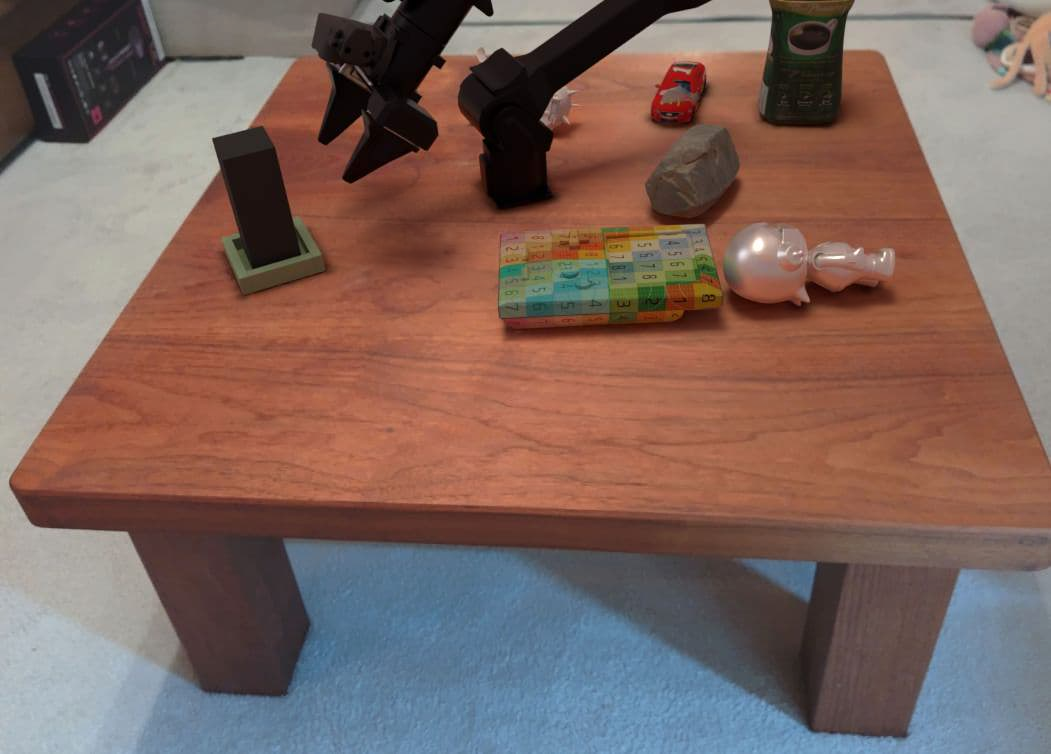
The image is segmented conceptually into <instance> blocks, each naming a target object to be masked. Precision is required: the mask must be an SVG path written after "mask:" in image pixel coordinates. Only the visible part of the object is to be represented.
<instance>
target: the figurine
mask: <svg viewBox="0 0 1051 754" xmlns="http://www.w3.org/2000/svg"><path fill="white" fill-rule="evenodd" d="M775 225H776V226H775ZM775 225H771V224H768V222H766V221H760V222H754V223H751V224H748V225H746V226H744V227H743V228H741V229H740V230H739V231H737V233H735V234H734V236H732V237H731V239H730V240H729V241H728V244H727V245H726V247H725V250H724V253H723V256H722V273H723V278H724V280H725V282H726V284H727V285H728V287H729V288H730V289H731V290H732V291H733V292H734V293H735V294H736V295H738V296H739V297H741V298H743V299H746V300H749V301H752V302H755V303H760V304H761V303H762V304H777V303H783V302H786V301H787V302H788V301H789V302H791V303H792V304H794V305H796V306H798V307H801V305H802V302H803V303H810V302H811V299H810V297H809V294H808V292H807V289H806V282H807V280H808V281H810V282H813V283H815V284H817V285H818V286H820V287H822V288H824V289H826V290H829V291H830V292H831V293H836V292H840V291H843V290H844V289H845V288H846V287H848V286H851V285H852V284H854V285H862V286H867V287H870V288H876V286H878V284H879V282H882V283H885V284H886V283H889V282H890V281H891V280H892V278H893V276H894V270H895V265H896V264H895V263H896V251H895V250H894V248H893V247H882V248H881V247H880V248H879V249H878V250H877V251H876V253H875V252H874V253H867V254H866V253H864V251H865V249H864V247H862V246H858V247H857V248H854V247H853V246H851V245H850V244H848V243H846V242H844V241H832V242H831V241H826V242H822V243H820V244H818V245H816V246H814V247H812V248H811V249H810V250H808V249H809V248H808V244H807V241H806V238H805V236H804V234H803V233H802V232H801V231H800V229H799V228H796V227H795V226H793V225H791V224H788V223H784V222H778V223H775Z"/></svg>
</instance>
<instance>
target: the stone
mask: <svg viewBox="0 0 1051 754" xmlns="http://www.w3.org/2000/svg"><path fill="white" fill-rule="evenodd" d="M740 167H741V161H740V158H739V154H738V152H737V150H736V145H735V144H734V141H733V138H732V136H731V134H730V131H729V129H728V128H727V127H726V126H723V125H718V124H710V123H703V122H701V123H699V124H696V125H694V126H692V127H690V128H689V129H687V130H686V131H685V132H684V133H683V134H682V135H681V136H680V137H679V138H678V139H677V141H676V142H675V143H674V144H673V145H672V146H671V148H670V149H669V150H668V151H667V152H666V154H665V155H664V156H663V158H662V159H661V160H660V161H659V163H658V164H657V166H656V167H655V169H654V170H653V171H652V172H651V174H650V176H649V177H648V178H647V180H646V181H645V183H644V187H645V191H646V195H647V197H648V199H649V202H650V205H651V206H652V208H653V210H655V211H656V212H657V213H658V214H659V213H660V214H663V215H667V216H673V217H679V218H684V219H685V218H686V219H694V218H697V217H698V216H701V215H702V214H704V213H706V212H707V211H708V210H709V209H710V208H711V207H712V206H714V205H715V204H716V203H717V202H718V201H719V200H720V198H722V196H723V195H724V194H725V192H726V191H727V189H728V188H729V187H730V186H731V184H732V183H733V181H735V178H736V176H737V174H738V172H740V171H739V170H740Z"/></svg>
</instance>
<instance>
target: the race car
mask: <svg viewBox="0 0 1051 754" xmlns="http://www.w3.org/2000/svg"><path fill="white" fill-rule="evenodd" d="M654 86H655V88H658V89H657V91H656V92H655V95H654V97H653V100H652V101H651V104H650V118H651V119H653V120H655V121H657V122H660V123H665V124H684V123H692V122H693V121H694V117H695V114H696V112H697V109H698V106H699V104H700V102H701V100H702V98H703V96H704V94H705V91H706V87H707V71H706V66H705V64H704V63H702V62H699V61H689V60H678V61H675V62H672V63H671V65H670V66H669V67H668V69H667V70H666V72H665V75H664V77H663V79H662V81H661V83H660V84H658V83H656V84H655V85H654Z"/></svg>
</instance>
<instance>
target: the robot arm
mask: <svg viewBox="0 0 1051 754" xmlns="http://www.w3.org/2000/svg"><path fill="white" fill-rule="evenodd" d="M395 1H396V0H382V2H384V3H387V4H389V3H393V2H395ZM398 1H399V2H400V3H399V4H398V6H397V7H396V9H395V10H394V12H393V14H392V15H391V16H389V15H388V14H386V13H383V14H382V15H381V14H380V15H379V16H378V17H376V20H375V21H374V23H373V24H369V23H366V22H362V21H360V20H356V19H352V18H347V17H343V16H338V15H333V14H330V13H325V12H318V14H317V18H316V22H315V27H314V31H313V36H312V41H311V45H310V47H311V48H312V50H313V49H314V50H315V51H316V52H317V56H318V58H319V59H321V60H322V61H324V62H325V67H326V69H327V72H328V76H329V80H330V83H331V89H330V93H329V98H328V101H327V104H326V108H325V112H324V114H323V117H322V121H321V125H320V127H319V131H318V135H317V139H316V140H317V141H318V143H320V144H321V145H323V146H328V145H329V144H330V143H332V142H333V141H334V140H335V139H337V138H338V137H339V136H340V135H342V134H343V133H344V132H345V131H346V130H347V129H349V128H350V126H352V125H353V124H354V123H355V122H356V121H358V120H359V119H360V118H361V117H362V122H363V128H364V129H363V132H362V134H361V136H360V138H359V141H358V142H357V145H356V146H355V148H354V150H353V152H352V154H351V156H350V158H349V160H348V162H347V163H346V166H345V169H344V171H343V173H342V176H341V180H342V181H344V182H345V183H347V184H350V185H352V184H353V183H356V182H357V181H359V180H361V179H363V178H364V177H366V176H368V175H370V174H371V173H373V172H375V171H376V170H378V169H381V168H382V167H384V166H386V165H388V164H390V163H392V162H393V161H396V160H398V159H399V158H401V157H404V156H406V155H408V154H410V153H412V152H413V153H414V154H417V153H419V151H421V150H423V151H425V152H428V151H429V150H430V148H431V147H432V145H434V143H435V142H436V140H437V138H438V137H439V135H440V133H439V127H438V122H437V120H436V119H435V118H434V117H433V116H432V115H431V113H429V112H428V110H427V109H426V108H425V107H423V106H421V105H420V104H419V102H420V101H421V99H422V98H423V96H422V95H421V93H420V92H419V91H418V89H419V88H420V86H421V85H422V83H423V81H424V80H425V78H426V77H427V75H428V74H429V72H430V71H431V69H432V68H433V66H434V67H435V68H437V69H439V70H442V68H443V67H444V65H446V63H447V60H446V59H445V58H444V57H443V56H442V53H443V52H444V50H445V49H446V46H447V45H448V44H449V43H450V41H451V40H452V38H453V37H454V35H455V33H456V32H457V31H458V29H459V28H460V26H461V25H462V23H463V22H464V21H465V19H466V17H467V16H468V14H469V13H470V11H471V10H472V8H473V7H474V8H476V9H477V10H478V11H479V12H481V13H482V14H483V15H485V16H486V17H488V18H491V17H493V16H494V13H495V11H494V7H493V6H494V5H493V2H492V0H398ZM712 1H713V0H602V1H600V2H599V3H598V4H596V5H595V6H593V7H592V8H590V9H589V10H588V11H587V12H584V13H583V14H582V15H581V16H579V17H578V18H576V19H575V20H574V21H572V22H570V24H568V25H567V26H565V27H564V28H562V29H561V30H559V31H557V32H556V33H555V34H554V35H552V36H551V37H549V38H548V39H547V40H545V41H544V42H543V43H541V44H540V45H538V46H537V47H535V48H534V49H532V50H531V51H530V52H528V53H525V54H521V55H516V56H513V55H512V54H511V53H509V51H507V50H506V49H505V48H504V47H500V48H498V49H496V50H495V51H493V52H492V53H491V54H490V55H489V56H488V57H486V58H487V59H486V60H485V61H484V62H482V63H480V62H479V63H478V64H476V65H471V66H469V68H468V69H469V71H470V72H471V73H469V74H468V75H467V76H465V78H464V79H463V80H461V81H462V82H461V83H460V84H459V90H458V94H457V106H458V109H459V111H460V113H461V115H462V116H463V117H464V118H465V119H466V120H467V122H469V124H470V125H472V126H473V128H474V129H476V131H477V132H478V133H479V134H480V135H481V136H482V138H483V139H481V142H482V152H483V153H479V155H478V163H479V173H480V181H481V182H480V184H481V188H482V189H483V191H484V193H485V195H486V197H488V198H489V199H491V201H492V203H493V205H494V206H495V208H496V209H498V210H503V209H509V208H514V207H518V206H522V205H526V204H531V203H535V202H541V201H545V200H550V199H553V197H554V192H553V190H552V189H551V187H550V186H549V184H548V164H547V161H548V160H547V153H548V152H550V151H551V148H552V145H553V141H554V137H555V132H554V131H553V130H551V129H550V128H549V127H547V126H546V125H545V124H544V123H543V122H542V121H541V120H540V119H541V118H542V116H543V114H544V112H545V110H546V108H547V107H548V105H549V103H550V101H551V99H552V97H553V95H554V94H555V93H556V92H557V91H558V90H560V89H561V88H563V87H564V86H565V85H566V86H567V85H568V84H570V83H571V82H572V81H574V80H576V79H577V78H578V77H581V75H583V74H584V73H585V72H587V71H588V70H590V69H591V68H592V67H594V66H595V65H597V64H599V62H601V61H602V60H604V59H605V58H606V57H608V56H609V55H611V54H612V53H613V52H615V51H616V50H618V49H619V48H621V47H622V46H624V45H625V44H626V43H628V42H629V41H630V40H632V39H633V38H635V37H636V36H638V35H640V33H642V32H643V31H645V30H646V29H647V28H649V27H650V26H651V25H653V24H654V23H656V22H657V21H658V20H660V19H661V18H663V17H665V16H667V15H669V14H674V13H680V12H684V11H688V10H689V11H690V10H694V9H699V8H700V7H702V6H704V5H706V4H708V3H710V2H712Z"/></svg>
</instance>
